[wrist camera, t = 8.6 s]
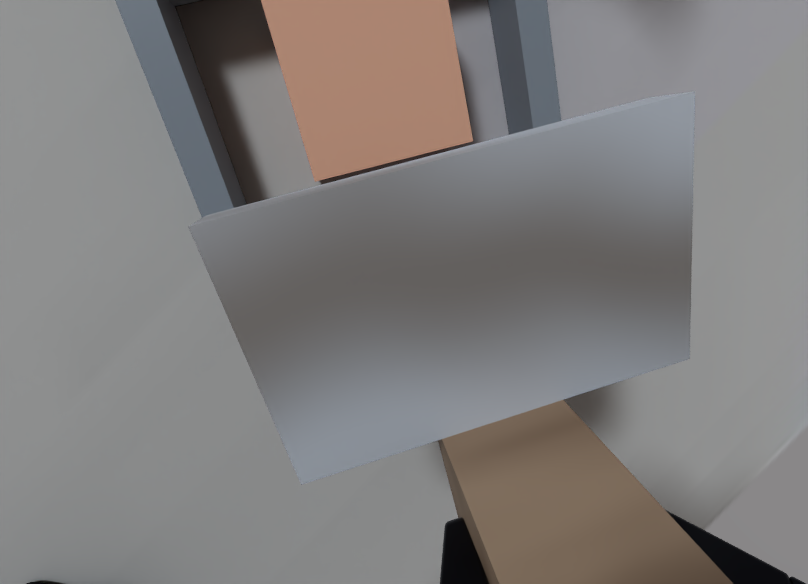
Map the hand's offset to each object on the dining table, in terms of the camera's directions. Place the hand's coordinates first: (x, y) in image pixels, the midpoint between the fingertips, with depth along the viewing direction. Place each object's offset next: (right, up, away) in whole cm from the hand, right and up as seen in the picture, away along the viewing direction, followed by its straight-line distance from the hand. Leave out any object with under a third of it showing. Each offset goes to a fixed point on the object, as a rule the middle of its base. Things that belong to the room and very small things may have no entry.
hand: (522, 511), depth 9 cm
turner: (0, +1, +1) cm, 1 cm away
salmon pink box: (-4, +12, +6) cm, 14 cm away
